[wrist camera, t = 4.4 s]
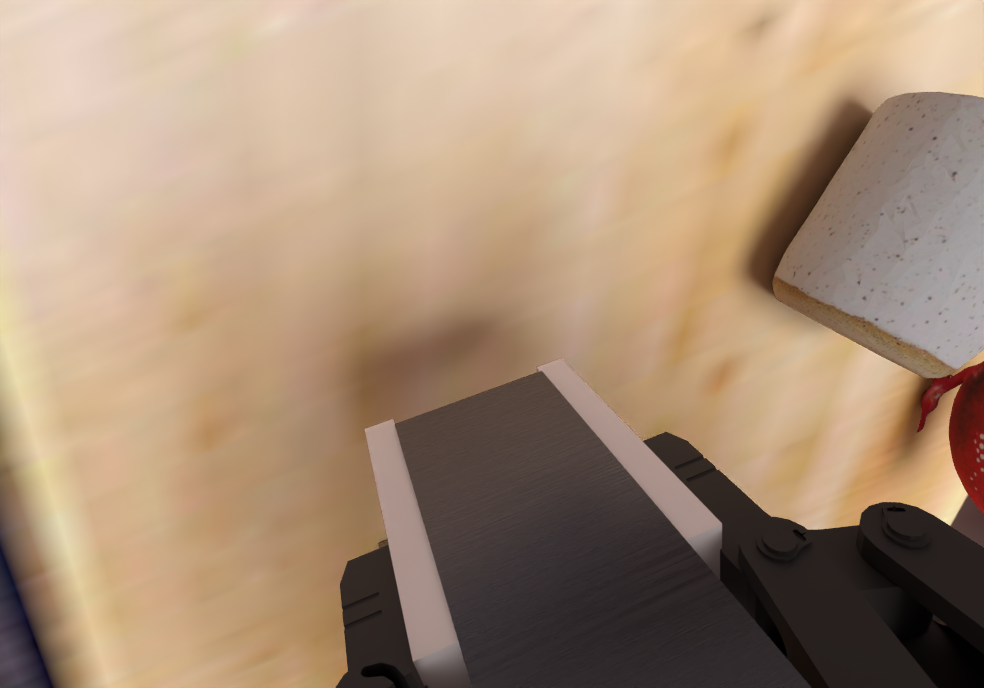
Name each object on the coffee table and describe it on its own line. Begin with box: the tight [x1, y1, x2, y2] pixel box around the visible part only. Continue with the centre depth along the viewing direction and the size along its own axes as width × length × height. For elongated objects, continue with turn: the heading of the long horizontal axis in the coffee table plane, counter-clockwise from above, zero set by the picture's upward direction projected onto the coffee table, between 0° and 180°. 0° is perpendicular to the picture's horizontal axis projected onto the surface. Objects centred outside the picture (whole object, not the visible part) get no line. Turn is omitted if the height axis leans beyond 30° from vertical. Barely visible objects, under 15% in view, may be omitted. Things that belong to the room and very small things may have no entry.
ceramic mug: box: [772, 92, 984, 378], centre depth 21 cm, size 11×8×8 cm
